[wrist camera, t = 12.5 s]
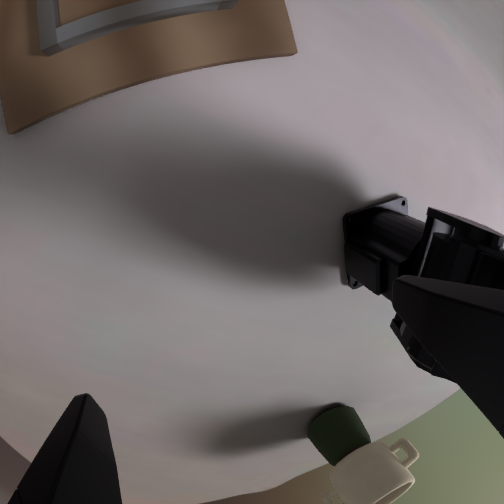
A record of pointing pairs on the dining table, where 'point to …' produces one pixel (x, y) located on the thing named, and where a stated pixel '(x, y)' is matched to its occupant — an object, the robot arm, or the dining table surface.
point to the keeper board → (123, 46)
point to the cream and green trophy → (360, 460)
